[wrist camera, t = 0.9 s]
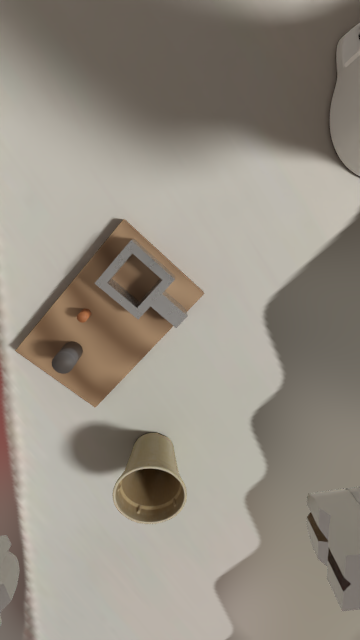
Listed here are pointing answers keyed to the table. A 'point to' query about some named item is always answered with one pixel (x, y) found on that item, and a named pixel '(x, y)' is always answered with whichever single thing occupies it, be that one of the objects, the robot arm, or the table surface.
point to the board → (103, 321)
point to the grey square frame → (154, 297)
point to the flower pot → (150, 482)
